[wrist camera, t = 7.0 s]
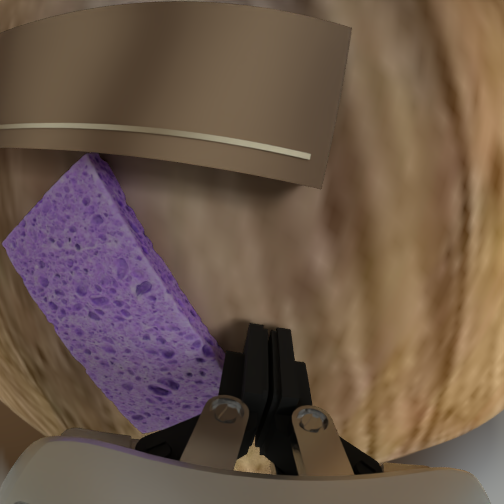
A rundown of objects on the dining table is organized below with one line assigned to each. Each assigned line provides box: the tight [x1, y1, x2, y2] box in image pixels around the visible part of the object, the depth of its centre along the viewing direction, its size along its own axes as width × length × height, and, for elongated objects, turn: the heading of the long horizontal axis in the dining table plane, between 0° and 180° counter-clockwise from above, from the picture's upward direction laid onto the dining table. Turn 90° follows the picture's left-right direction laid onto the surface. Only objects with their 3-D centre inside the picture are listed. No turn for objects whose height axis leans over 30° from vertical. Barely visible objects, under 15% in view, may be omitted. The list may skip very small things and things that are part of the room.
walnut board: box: [0, 1, 352, 189], centre depth 8 cm, size 24×5×3 cm, turn 79°
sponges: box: [2, 152, 225, 434], centre depth 12 cm, size 7×13×2 cm, turn 28°
